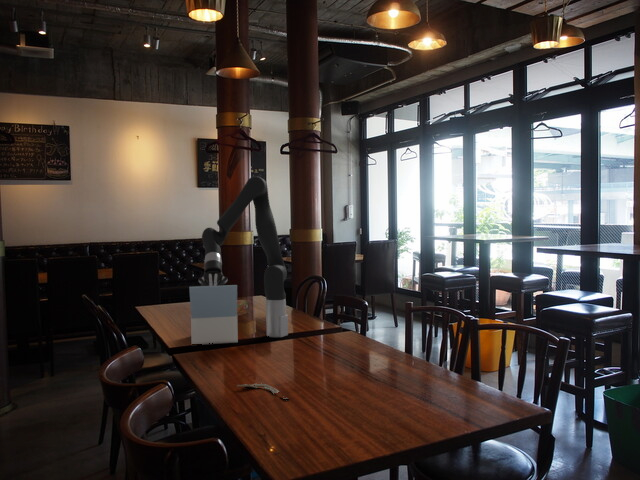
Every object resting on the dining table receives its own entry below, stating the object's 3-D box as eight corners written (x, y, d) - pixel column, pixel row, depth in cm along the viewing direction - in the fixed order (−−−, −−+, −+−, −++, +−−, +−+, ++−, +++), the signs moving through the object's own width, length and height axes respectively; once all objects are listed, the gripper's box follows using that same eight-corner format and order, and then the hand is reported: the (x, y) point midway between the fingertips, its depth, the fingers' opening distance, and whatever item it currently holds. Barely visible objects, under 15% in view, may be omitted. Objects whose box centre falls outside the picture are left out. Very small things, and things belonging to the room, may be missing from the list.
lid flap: (189, 286, 208) (189, 287, 208) (237, 284, 212) (237, 285, 212) (191, 317, 219) (191, 318, 218) (236, 315, 223) (236, 316, 222)
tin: (230, 317, 279) (230, 302, 279) (226, 316, 281) (226, 302, 281) (249, 313, 291) (249, 298, 291) (245, 312, 293) (245, 298, 292)
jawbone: (253, 385, 170) (254, 378, 170) (304, 396, 159) (304, 390, 159) (236, 390, 162) (236, 384, 162) (288, 403, 151) (288, 396, 151)
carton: (193, 335, 237) (192, 310, 236) (236, 333, 241) (235, 308, 240) (191, 345, 219) (190, 317, 219) (237, 342, 223) (237, 315, 223)
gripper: (197, 259, 221) (196, 291, 210) (228, 258, 223) (229, 290, 212) (198, 270, 226) (197, 301, 215) (228, 269, 229) (228, 300, 218)
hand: (213, 296), depth 214 cm, fingers closed
